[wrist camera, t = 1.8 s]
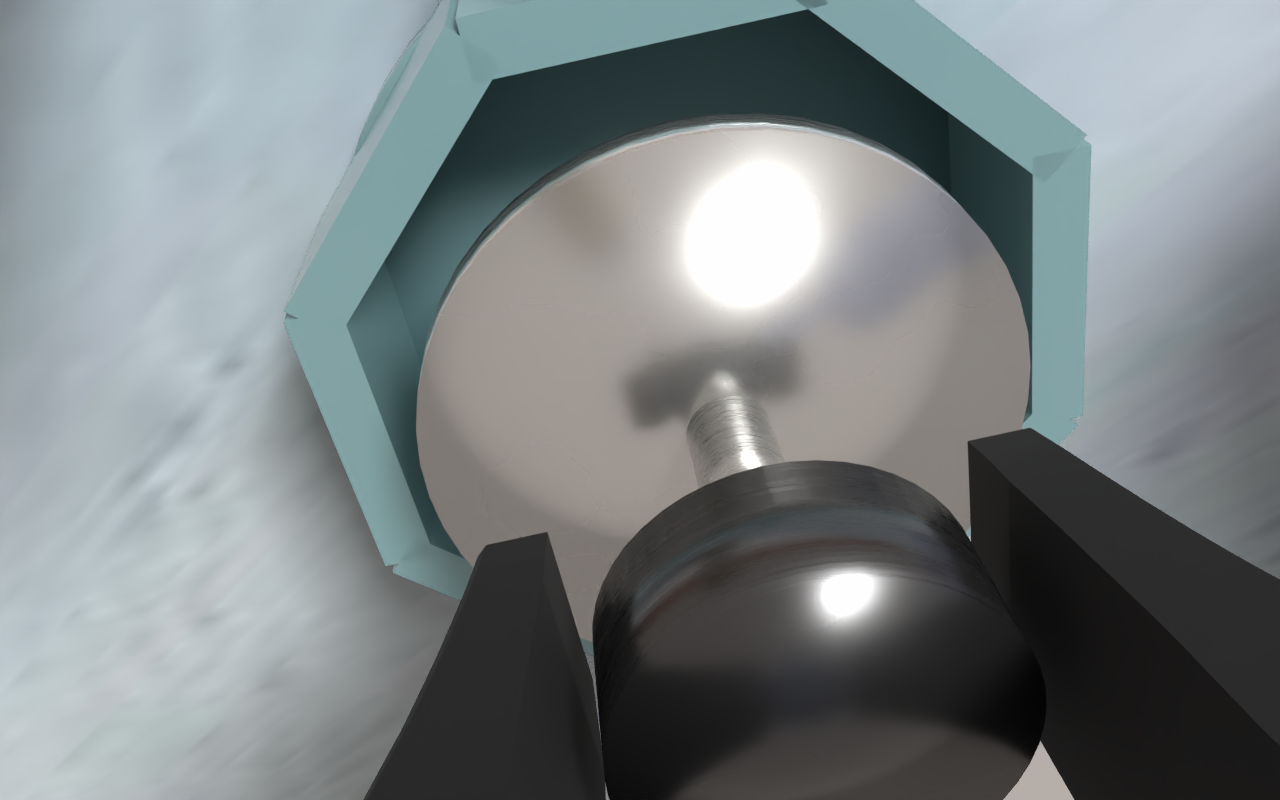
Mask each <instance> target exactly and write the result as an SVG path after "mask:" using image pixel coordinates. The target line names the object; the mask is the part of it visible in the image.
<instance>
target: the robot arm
mask: <svg viewBox="0 0 1280 800" xmlns="http://www.w3.org/2000/svg"><path fill="white" fill-rule="evenodd" d="M968 468H969V496H970V524H971V543H972V545H973V547H974V549H975V550H976V552H977V554H978V556H979V557H980V559H981V561H982V563H983V564H984V566H985V568H986V570H987V572H988V573H989V575H990V577H991V579H992V580H993V582H994V584H995V586H996V587H997V589H998V591H999V593H1000V594H1001V596H1002V598H1003V600H1004V602H1005V603H1006V605H1007V607H1008V609H1009V610H1010V612H1011V614H1012V616H1013V617H1014V619H1015V621H1016V623H1017V625H1018V626H1019V628H1020V630H1021V632H1022V633H1023V635H1024V637H1025V639H1026V640H1027V642H1028V644H1029V646H1030V648H1031V649H1032V651H1033V653H1034V655H1035V657H1036V659H1037V661H1038V663H1039V665H1040V668H1041V672H1042V675H1043V678H1044V682H1045V688H1046V700H1047V707H1046V716H1045V724H1044V728H1043V731H1042V735H1041V738H1040V741H1041V742H1042V744H1043V746H1044V748H1045V749H1046V751H1047V753H1048V754H1049V756H1050V758H1051V760H1052V762H1053V763H1054V765H1055V767H1056V768H1057V770H1058V772H1059V774H1060V775H1061V777H1062V779H1063V780H1064V782H1065V784H1066V786H1067V788H1068V789H1069V791H1070V793H1071V794H1072V796H1073V798H1074V800H1280V579H1278V578H1276V577H1274V576H1272V575H1270V574H1268V573H1266V572H1264V571H1263V570H1261V569H1259V568H1257V567H1256V566H1254V565H1252V564H1250V563H1249V562H1247V561H1245V560H1243V559H1241V558H1240V557H1238V556H1236V555H1234V554H1233V553H1231V552H1229V551H1227V550H1226V549H1224V548H1222V547H1220V546H1219V545H1217V544H1215V543H1214V542H1212V541H1210V540H1209V539H1207V538H1205V537H1203V536H1202V535H1200V534H1198V533H1197V532H1195V531H1193V530H1192V529H1190V528H1188V527H1187V526H1185V525H1183V524H1182V523H1180V522H1178V521H1177V520H1175V519H1173V518H1172V517H1170V516H1169V515H1167V514H1165V513H1164V512H1162V511H1161V510H1159V509H1157V508H1156V507H1154V506H1152V505H1151V504H1149V503H1148V502H1146V501H1144V500H1143V499H1141V498H1140V497H1138V496H1137V495H1135V494H1133V493H1132V492H1130V491H1129V490H1127V489H1126V488H1124V487H1122V486H1121V485H1119V484H1118V483H1116V482H1115V481H1113V480H1111V479H1110V478H1108V477H1107V476H1105V475H1104V474H1102V473H1101V472H1099V471H1097V470H1096V469H1094V468H1093V467H1091V466H1090V465H1088V464H1087V463H1085V462H1084V461H1082V460H1080V459H1079V458H1077V457H1076V456H1074V455H1073V454H1071V453H1070V452H1068V451H1067V450H1065V449H1064V448H1062V447H1060V446H1059V445H1057V444H1056V443H1054V442H1053V441H1051V440H1050V439H1048V438H1046V437H1045V436H1043V435H1042V434H1040V433H1038V432H1037V431H1035V430H1034V429H1032V428H1026V429H1021V430H1016V431H1012V432H1007V433H1002V434H998V435H993V436H989V437H984V438H979V439H975V440H970V441H968ZM364 800H606V798H605V778H604V767H603V756H602V747H601V739H600V731H599V724H598V716H597V709H596V701H595V694H594V686H593V679H592V676H591V673H590V669H589V666H588V663H587V659H586V656H585V653H584V650H583V646H582V643H581V640H580V637H579V633H578V630H577V627H576V624H575V620H574V617H573V614H572V611H571V607H570V604H569V601H568V597H567V594H566V591H565V588H564V584H563V581H562V578H561V575H560V571H559V568H558V565H557V562H556V558H555V555H554V552H553V549H552V545H551V542H550V539H549V535H548V532H544V533H539V534H535V535H530V536H525V537H521V538H516V539H511V540H507V541H502V542H498V543H493V544H488V545H486V546H485V547H484V549H483V550H482V551H481V553H480V554H479V555H478V557H477V560H476V563H475V565H474V568H473V571H472V573H471V576H470V579H469V581H468V584H467V586H466V589H465V591H464V594H463V597H462V599H461V602H460V604H459V606H458V609H457V611H456V614H455V616H454V618H453V621H452V623H451V625H450V628H449V630H448V632H447V635H446V637H445V639H444V642H443V644H442V646H441V648H440V651H439V653H438V655H437V657H436V660H435V662H434V664H433V666H432V668H431V670H430V672H429V674H428V676H427V678H426V681H425V683H424V685H423V687H422V689H421V691H420V693H419V695H418V697H417V699H416V702H415V704H414V706H413V708H412V710H411V712H410V714H409V716H408V718H407V720H406V722H405V724H404V726H403V728H402V730H401V732H400V734H399V736H398V738H397V739H396V741H395V743H394V745H393V747H392V749H391V750H390V752H389V754H388V756H387V758H386V760H385V761H384V763H383V765H382V767H381V769H380V770H379V772H378V774H377V776H376V778H375V780H374V781H373V783H372V785H371V787H370V789H369V791H368V792H367V794H366V796H365V798H364Z"/></svg>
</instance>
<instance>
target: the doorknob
mask: <svg viewBox="0 0 1280 800" xmlns="http://www.w3.org/2000/svg"><path fill="white" fill-rule="evenodd" d="M1030 367H1031V366H1030V352H1029V339H1028V330H1027V326H1026V322H1025V318H1024V314H1023V309H1022V305H1021V301H1020V298H1019V295H1018V293H1017V291H1016V288H1015V286H1014V283H1013V281H1012V279H1011V276H1010V274H1009V271H1008V269H1007V267H1006V265H1005V263H1004V262H1003V260H1002V259H1001V257H1000V255H999V254H998V252H997V251H996V249H995V247H994V246H993V244H992V243H991V241H990V239H989V238H988V236H987V235H986V234H985V233H984V232H983V230H982V229H981V228H980V227H979V226H978V225H977V224H976V222H975V221H974V220H973V219H972V218H971V217H970V216H969V215H968V213H967V212H966V211H965V210H964V209H963V208H962V207H961V206H960V205H959V204H958V202H957V201H956V200H955V199H954V198H953V197H952V196H951V195H950V194H949V193H948V192H947V191H946V190H945V189H944V188H943V187H942V186H941V185H940V184H939V183H937V182H936V181H935V180H934V179H932V178H931V177H930V176H929V175H928V174H926V173H925V172H924V171H923V170H922V169H920V168H919V167H918V166H917V165H915V164H914V163H913V162H911V161H909V160H908V159H906V158H904V157H903V156H901V155H899V154H898V153H896V152H894V151H892V150H891V149H889V148H887V147H886V146H884V145H882V144H881V143H879V142H876V141H874V140H871V139H869V138H866V137H864V136H861V135H859V134H857V133H854V132H852V131H849V130H847V129H844V128H842V127H838V126H834V125H830V124H826V123H822V122H818V121H814V120H810V119H806V118H802V117H794V116H785V115H776V114H766V113H719V114H708V115H701V116H695V117H688V118H682V119H675V120H669V121H665V122H662V123H659V124H655V125H652V126H648V127H645V128H641V129H638V130H634V131H631V132H627V133H624V134H622V135H620V136H617V137H615V138H613V139H611V140H608V141H606V142H604V143H601V144H599V145H597V146H594V147H592V148H590V149H588V150H585V151H583V152H582V153H580V154H578V155H577V156H575V157H573V158H571V159H570V160H568V161H566V162H565V163H563V164H561V165H560V166H558V167H556V168H555V169H553V170H551V171H550V172H548V173H546V174H545V175H544V176H542V177H541V178H540V179H539V180H537V181H536V182H535V183H534V184H532V185H531V186H530V187H528V188H527V189H526V190H525V191H523V192H522V193H521V194H520V195H518V196H517V197H516V198H515V199H513V200H512V201H511V202H510V203H509V204H508V205H507V206H506V207H505V208H504V209H503V210H502V211H501V212H500V213H499V214H498V215H497V216H496V218H495V219H494V220H493V221H492V222H491V223H490V224H489V225H488V226H487V227H486V228H485V229H484V230H483V231H482V232H481V234H480V235H479V237H478V238H477V239H476V241H475V242H474V243H473V245H472V246H471V247H470V249H469V250H468V252H467V253H466V254H465V256H464V257H463V258H462V260H461V261H460V262H459V264H458V266H457V268H456V270H455V271H454V273H453V275H452V277H451V279H450V281H449V283H448V285H447V286H446V288H445V290H444V292H443V294H442V296H441V298H440V301H439V303H438V306H437V309H436V312H435V315H434V317H433V320H432V323H431V326H430V329H429V331H428V335H427V340H426V345H425V351H424V356H423V361H422V366H421V372H420V379H419V386H418V393H417V415H416V435H417V443H418V452H419V460H420V466H421V469H422V473H423V476H424V480H425V483H426V487H427V490H428V494H429V497H430V499H431V502H432V504H433V506H434V508H435V510H436V512H437V514H438V517H439V519H440V521H441V523H442V525H443V527H444V529H445V530H446V532H447V533H448V535H449V536H450V538H451V539H452V541H453V542H454V544H455V545H456V547H457V548H458V550H459V551H460V553H461V554H462V556H463V557H464V558H465V559H466V560H467V561H468V562H469V563H470V564H471V566H472V567H473V568H474V565H475V563H476V560H477V557H478V555H479V554H480V553H481V551H482V550H483V549H484V547H485V546H486V545H488V544H493V543H498V542H502V541H507V540H511V539H516V538H521V537H525V536H530V535H535V534H539V533H544V532H548V535H549V539H550V542H551V545H552V549H553V552H554V555H555V558H556V562H557V565H558V568H559V571H560V575H561V578H562V581H563V584H564V588H565V591H566V594H567V597H568V601H569V604H570V607H571V611H572V614H573V617H574V620H575V624H576V627H577V630H578V633H579V637H580V638H582V639H585V640H588V641H591V642H593V653H594V665H595V676H596V687H597V699H598V710H599V721H600V733H601V744H602V756H603V767H604V778H605V783H606V787H607V792H608V796H609V799H610V800H1003V799H1004V798H1005V797H1006V796H1007V794H1008V793H1009V792H1010V791H1011V790H1012V788H1013V787H1014V786H1015V785H1016V784H1017V782H1018V781H1019V779H1020V778H1021V776H1022V775H1023V773H1024V772H1025V770H1026V768H1027V767H1028V765H1029V764H1030V762H1031V760H1032V757H1033V755H1034V753H1035V751H1036V749H1037V747H1038V745H1039V742H1040V738H1041V735H1042V731H1043V728H1044V724H1045V716H1046V707H1047V700H1046V688H1045V682H1044V678H1043V675H1042V672H1041V668H1040V665H1039V663H1038V661H1037V659H1036V657H1035V655H1034V653H1033V651H1032V649H1031V648H1030V646H1029V644H1028V642H1027V640H1026V639H1025V637H1024V635H1023V633H1022V632H1021V630H1020V628H1019V626H1018V625H1017V623H1016V621H1015V619H1014V617H1013V616H1012V614H1011V612H1010V610H1009V609H1008V607H1007V605H1006V603H1005V602H1004V600H1003V598H1002V596H1001V594H1000V593H999V591H998V589H997V587H996V586H995V584H994V582H993V580H992V579H991V577H990V575H989V573H988V572H987V570H986V568H985V566H984V564H983V563H982V561H981V559H980V557H979V556H978V554H977V552H976V550H975V549H974V547H973V545H972V543H971V542H970V540H969V538H968V536H967V534H966V533H965V532H966V531H967V530H968V529H969V528H970V527H971V524H970V496H969V468H968V441H970V440H975V439H979V438H984V437H989V436H993V435H998V434H1002V433H1007V432H1012V431H1016V430H1021V429H1022V425H1023V420H1024V416H1025V411H1026V407H1027V402H1028V393H1029V380H1030Z"/></svg>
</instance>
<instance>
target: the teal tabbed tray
mask: <svg viewBox="0 0 1280 800" xmlns="http://www.w3.org/2000/svg"><path fill="white" fill-rule="evenodd" d="M719 113H766V114H776V115H785V116H794V117H802V118H806V119H810V120H814V121H818V122H822V123H826V124H830V125H834V126H838V127H842V128H844V129H847V130H849V131H852V132H854V133H857V134H859V135H861V136H864V137H866V138H869V139H871V140H874V141H876V142H879V143H881V144H882V145H884V146H886V147H887V148H889V149H891V150H892V151H894V152H896V153H898V154H899V155H901V156H903V157H904V158H906V159H908V160H909V161H911V162H913V163H914V164H915V165H917V166H918V167H919V168H920V169H922V170H923V171H924V172H925V173H926V174H928V175H929V176H930V177H931V178H932V179H934V180H935V181H936V182H937V183H939V184H940V185H941V186H942V187H943V188H944V189H945V190H946V191H947V192H948V193H949V194H950V195H951V196H952V197H953V198H954V199H955V200H956V201H957V202H958V204H959V205H960V206H961V207H962V208H963V209H964V210H965V211H966V212H967V213H968V215H969V216H970V217H971V218H972V219H973V220H974V221H975V222H976V224H977V225H978V226H979V227H980V228H981V229H982V230H983V232H984V233H985V234H986V235H987V236H988V238H989V239H990V241H991V243H992V244H993V246H994V247H995V249H996V251H997V252H998V254H999V255H1000V257H1001V259H1002V260H1003V262H1004V263H1005V265H1006V267H1007V269H1008V271H1009V274H1010V276H1011V279H1012V281H1013V283H1014V286H1015V288H1016V291H1017V293H1018V295H1019V298H1020V301H1021V305H1022V309H1023V314H1024V318H1025V322H1026V326H1027V330H1028V339H1029V352H1030V366H1031V367H1030V380H1029V393H1028V402H1027V407H1026V411H1025V416H1024V420H1023V425H1022V429H1026V428H1032V429H1034V430H1035V431H1037V432H1038V433H1040V434H1042V435H1043V436H1045V437H1046V438H1048V439H1050V440H1051V441H1053V442H1054V443H1056V444H1057V445H1059V444H1060V443H1061V442H1062V441H1063V440H1064V439H1065V438H1066V437H1067V436H1068V435H1069V434H1070V433H1071V431H1072V430H1073V429H1074V428H1075V427H1076V426H1077V425H1078V424H1077V423H1076V422H1075V420H1074V419H1073V418H1075V417H1079V416H1082V412H1083V381H1084V351H1085V320H1086V290H1087V259H1088V229H1089V198H1090V168H1091V144H1089V143H1088V142H1087V141H1085V140H1084V138H1085V136H1086V134H1085V133H1084V132H1083V131H1081V130H1080V129H1079V128H1077V127H1076V126H1075V125H1074V124H1072V123H1071V122H1070V121H1068V120H1067V119H1066V118H1065V117H1063V116H1062V115H1061V114H1059V113H1058V112H1057V111H1056V110H1054V109H1053V108H1052V107H1050V106H1049V105H1048V104H1046V103H1045V102H1044V101H1043V100H1041V99H1040V98H1039V97H1037V96H1036V95H1035V94H1034V93H1032V92H1031V91H1030V90H1028V89H1027V88H1026V87H1025V86H1023V85H1022V84H1021V83H1019V82H1018V81H1017V80H1016V79H1014V78H1013V77H1012V76H1010V75H1009V74H1008V73H1006V72H1005V71H1004V70H1003V69H1001V68H1000V67H999V66H997V65H996V64H995V63H994V62H992V61H991V60H990V59H988V58H987V57H986V56H985V55H983V54H982V53H981V52H979V51H978V50H977V49H975V48H974V47H973V46H972V45H970V44H969V43H968V42H966V41H965V40H964V39H963V38H961V37H960V36H959V35H957V34H956V33H955V32H954V31H952V30H951V29H950V28H948V27H947V26H946V25H945V24H943V23H942V22H941V21H939V20H938V19H937V18H935V17H934V16H933V15H932V14H930V13H929V12H928V11H926V10H925V9H924V8H923V7H921V6H920V5H919V4H917V3H916V2H915V1H914V0H441V2H440V4H439V5H438V7H437V9H436V11H435V13H434V14H433V16H432V17H431V18H430V19H429V21H428V22H427V23H426V24H425V25H424V26H423V28H422V29H421V30H420V31H419V32H418V33H417V34H416V36H415V37H414V38H413V39H412V40H411V41H410V42H409V44H408V46H407V47H406V49H405V50H404V52H403V53H402V55H401V56H400V58H399V59H398V61H397V63H396V64H395V66H394V67H393V69H392V70H391V72H390V73H389V75H388V76H387V78H386V80H385V81H384V83H383V86H382V88H381V90H380V92H379V94H378V96H377V99H376V101H375V103H374V105H373V107H372V109H371V112H370V114H369V116H368V118H367V120H366V123H365V125H364V128H363V131H362V133H361V136H360V139H359V142H358V146H357V149H356V152H355V156H354V159H353V160H352V162H351V164H350V166H349V168H348V169H347V171H346V173H345V175H344V177H343V178H342V180H341V182H340V184H339V186H338V187H337V189H336V191H335V193H334V195H333V196H332V198H331V200H330V202H329V204H328V205H327V207H326V209H325V211H324V213H323V214H322V216H321V219H320V221H319V224H318V226H317V229H316V231H315V234H314V236H313V239H312V241H311V244H310V247H309V249H308V252H307V254H306V257H305V259H304V262H303V264H302V267H301V269H300V272H299V274H298V277H297V279H296V282H295V284H294V287H293V289H292V292H291V295H290V297H289V300H288V302H287V305H286V307H285V310H284V312H286V313H287V314H286V317H285V319H284V322H283V323H284V325H285V328H286V330H287V333H288V335H289V337H290V340H291V342H292V345H293V347H294V349H295V352H296V354H297V356H298V359H299V361H300V364H301V366H302V368H303V371H304V373H305V376H306V378H307V380H308V383H309V385H310V387H311V390H312V392H313V395H314V397H315V399H316V402H317V404H318V407H319V409H320V411H321V414H322V416H323V418H324V421H325V423H326V426H327V428H328V430H329V433H330V435H331V438H332V440H333V442H334V445H335V447H336V450H337V452H338V454H339V457H340V459H341V461H342V464H343V466H344V469H345V471H346V473H347V476H348V478H349V481H350V483H351V485H352V488H353V490H354V492H355V495H356V497H357V500H358V502H359V504H360V507H361V509H362V512H363V514H364V516H365V519H366V521H367V523H368V526H369V528H370V531H371V533H372V535H373V538H374V540H375V543H376V545H377V547H378V550H379V552H380V554H381V557H382V559H383V562H384V564H385V566H389V565H394V566H393V573H394V574H397V575H399V576H402V577H404V578H406V579H409V580H411V581H414V582H416V583H418V584H421V585H423V586H426V587H428V588H430V589H433V590H435V591H438V592H440V593H442V594H445V595H447V596H450V597H452V598H454V599H457V600H459V601H461V599H462V597H463V594H464V591H465V589H466V586H467V584H468V581H469V579H470V576H471V573H472V571H473V567H472V566H471V564H470V563H469V562H468V561H467V560H466V559H465V558H464V557H463V556H462V554H461V553H460V551H459V550H458V548H457V547H456V545H455V544H454V542H453V541H452V539H451V538H450V536H449V535H448V533H447V532H446V530H445V529H444V527H443V525H442V523H441V521H440V519H439V517H438V514H437V512H436V510H435V508H434V506H433V504H432V502H431V499H430V497H429V494H428V490H427V487H426V483H425V480H424V476H423V473H422V469H421V466H420V460H419V452H418V443H417V435H416V415H417V393H418V386H419V379H420V372H421V366H422V361H423V356H424V351H425V345H426V340H427V335H428V331H429V329H430V326H431V323H432V320H433V317H434V315H435V312H436V309H437V306H438V303H439V301H440V298H441V296H442V294H443V292H444V290H445V288H446V286H447V285H448V283H449V281H450V279H451V277H452V275H453V273H454V271H455V270H456V268H457V266H458V264H459V262H460V261H461V260H462V258H463V257H464V256H465V254H466V253H467V252H468V250H469V249H470V247H471V246H472V245H473V243H474V242H475V241H476V239H477V238H478V237H479V235H480V234H481V232H482V231H483V230H484V229H485V228H486V227H487V226H488V225H489V224H490V223H491V222H492V221H493V220H494V219H495V218H496V216H497V215H498V214H499V213H500V212H501V211H502V210H503V209H504V208H505V207H506V206H507V205H508V204H509V203H510V202H511V201H512V200H513V199H515V198H516V197H517V196H518V195H520V194H521V193H522V192H523V191H525V190H526V189H527V188H528V187H530V186H531V185H532V184H534V183H535V182H536V181H537V180H539V179H540V178H541V177H542V176H544V175H545V174H546V173H548V172H550V171H551V170H553V169H555V168H556V167H558V166H560V165H561V164H563V163H565V162H566V161H568V160H570V159H571V158H573V157H575V156H577V155H578V154H580V153H582V152H583V151H585V150H588V149H590V148H592V147H594V146H597V145H599V144H601V143H604V142H606V141H608V140H611V139H613V138H615V137H617V136H620V135H622V134H624V133H627V132H631V131H634V130H638V129H641V128H645V127H648V126H652V125H655V124H659V123H662V122H665V121H669V120H675V119H682V118H688V117H695V116H701V115H708V114H719ZM965 533H966V534H967V536H969V535H970V534H971V527H970V528H969V529H968V530H967V531H966V532H965ZM580 640H581V643H582V646H583V650H584V653H587V654H589V655H592V656H594V653H593V642H591V641H588V640H585V639H582V638H580Z"/></svg>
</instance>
